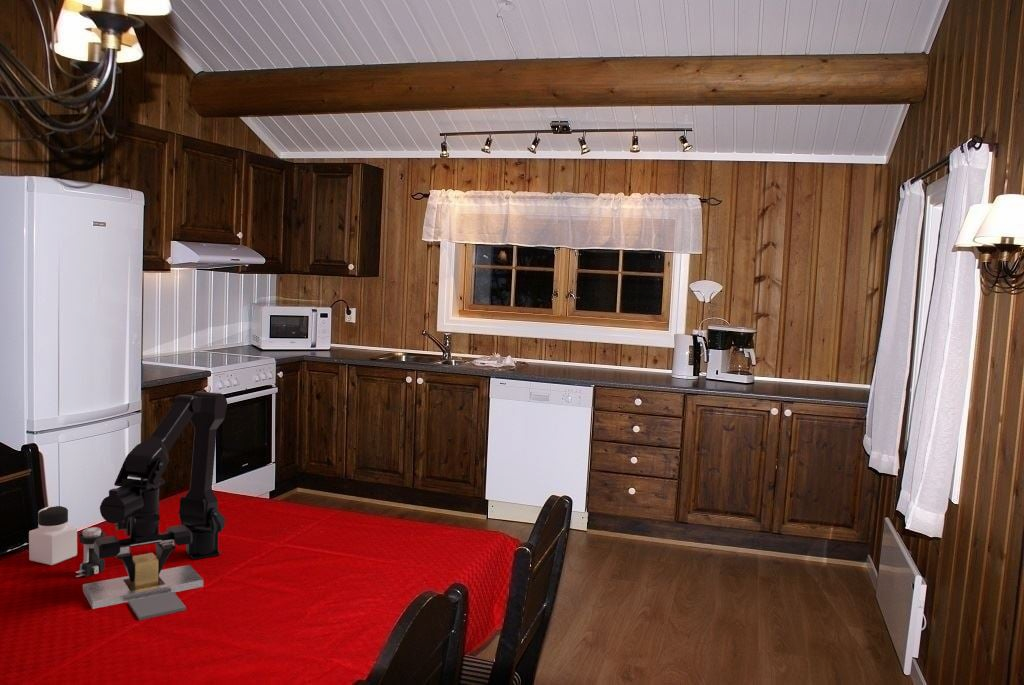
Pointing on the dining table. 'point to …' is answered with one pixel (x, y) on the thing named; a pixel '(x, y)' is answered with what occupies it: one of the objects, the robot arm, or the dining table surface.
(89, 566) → the push button
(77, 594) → the dining table surface
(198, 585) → the rail
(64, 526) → the medicine bottle
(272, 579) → the dining table surface
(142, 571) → the brass block
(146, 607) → the pad
